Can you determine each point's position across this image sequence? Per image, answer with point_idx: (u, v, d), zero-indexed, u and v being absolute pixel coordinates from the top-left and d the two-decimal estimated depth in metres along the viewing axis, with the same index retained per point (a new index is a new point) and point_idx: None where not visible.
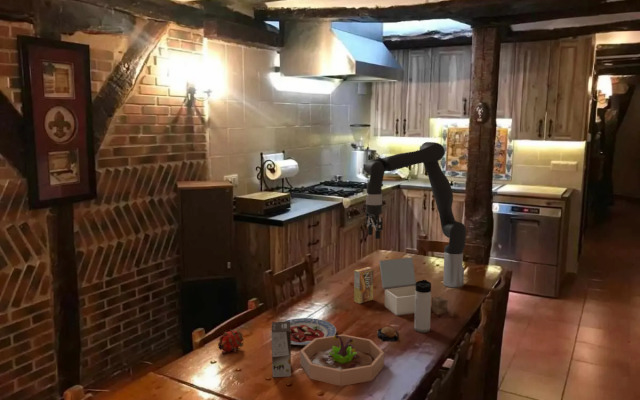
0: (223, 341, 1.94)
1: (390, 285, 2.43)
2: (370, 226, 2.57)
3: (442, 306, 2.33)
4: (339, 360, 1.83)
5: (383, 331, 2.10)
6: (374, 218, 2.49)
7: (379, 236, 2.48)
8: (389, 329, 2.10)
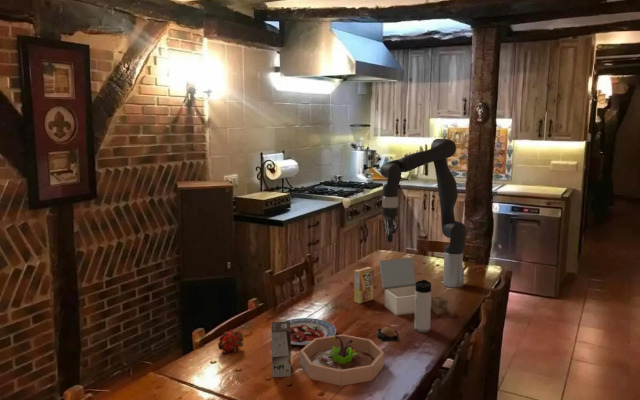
0: (223, 341, 1.94)
1: (390, 285, 2.43)
2: None
3: (442, 306, 2.33)
4: (339, 361, 1.82)
5: (383, 331, 2.10)
6: (390, 221, 2.48)
7: (391, 239, 2.51)
8: (389, 329, 2.10)
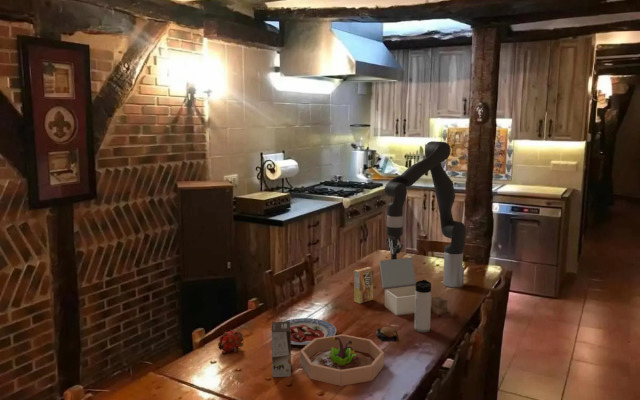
0: (223, 341, 1.94)
1: (390, 285, 2.43)
2: None
3: (442, 306, 2.33)
4: (338, 362, 1.82)
5: (382, 331, 2.10)
6: (395, 240, 2.44)
7: None
8: (388, 329, 2.10)
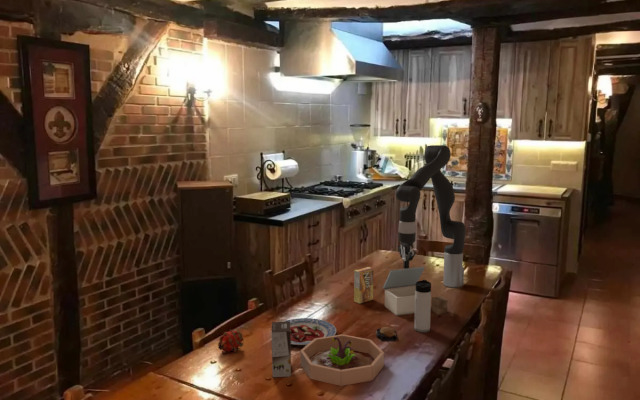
0: (223, 341, 1.94)
1: (391, 286, 2.43)
2: None
3: (442, 306, 2.33)
4: (337, 362, 1.81)
5: (382, 331, 2.10)
6: (407, 247, 2.33)
7: (408, 266, 2.36)
8: (388, 329, 2.10)
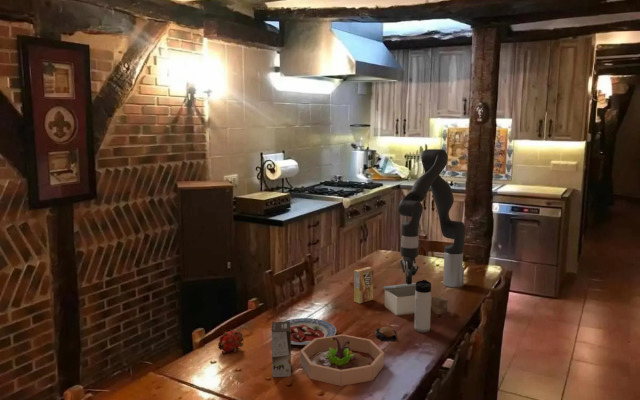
0: (223, 341, 1.94)
1: (391, 287, 2.42)
2: None
3: (442, 306, 2.33)
4: (336, 362, 1.81)
5: (381, 331, 2.10)
6: (410, 262, 2.32)
7: (411, 281, 2.35)
8: (387, 329, 2.10)
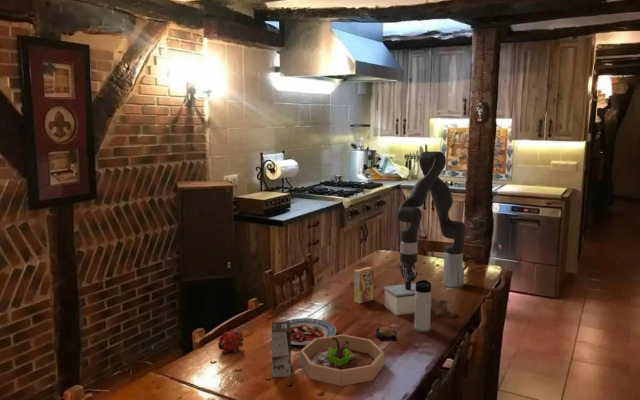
0: (223, 341, 1.94)
1: None
2: None
3: (442, 306, 2.33)
4: (335, 362, 1.81)
5: (381, 331, 2.10)
6: (409, 268, 2.33)
7: (410, 287, 2.36)
8: (387, 329, 2.10)
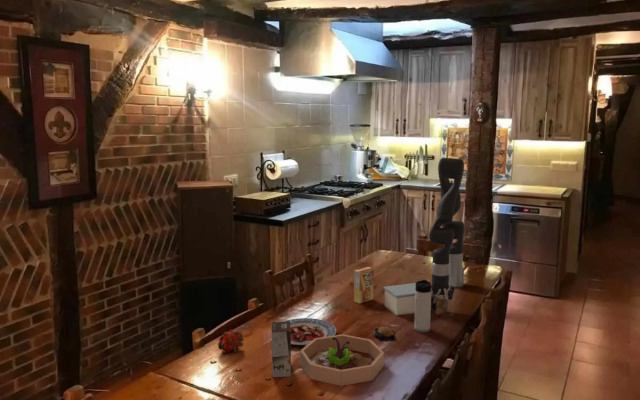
0: (223, 341, 1.94)
1: None
2: None
3: (442, 306, 2.33)
4: (335, 362, 1.81)
5: (380, 331, 2.10)
6: None
7: (432, 308, 2.34)
8: (386, 329, 2.10)
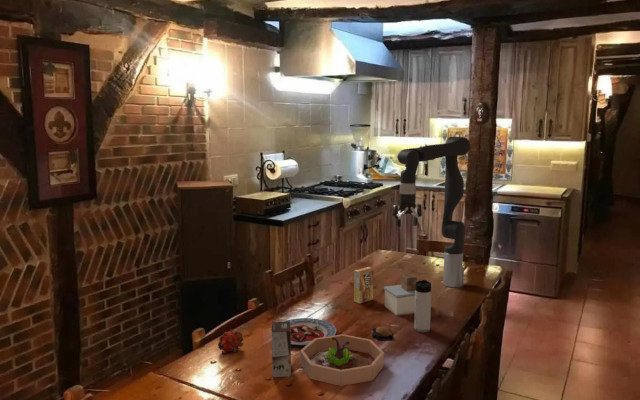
0: (223, 341, 1.94)
1: None
2: (414, 217, 2.52)
3: (412, 284, 2.36)
4: (335, 362, 1.81)
5: (378, 330, 2.10)
6: None
7: (397, 224, 2.50)
8: (384, 328, 2.10)
